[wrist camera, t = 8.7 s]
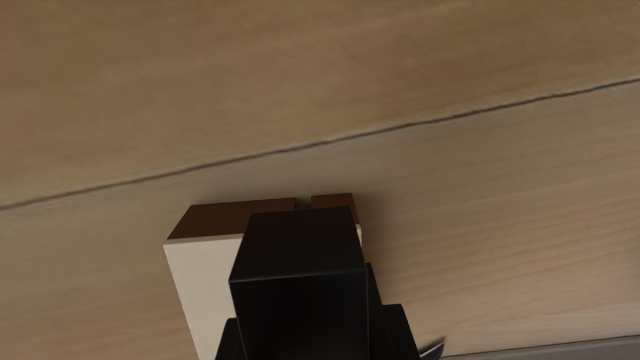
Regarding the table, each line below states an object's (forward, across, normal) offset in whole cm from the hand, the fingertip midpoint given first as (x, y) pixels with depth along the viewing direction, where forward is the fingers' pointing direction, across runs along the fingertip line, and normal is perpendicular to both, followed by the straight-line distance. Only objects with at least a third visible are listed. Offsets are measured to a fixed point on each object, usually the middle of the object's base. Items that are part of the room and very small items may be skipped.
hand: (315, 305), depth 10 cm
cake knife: (+1, 0, +5) cm, 5 cm away
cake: (+14, +6, +9) cm, 17 cm away
